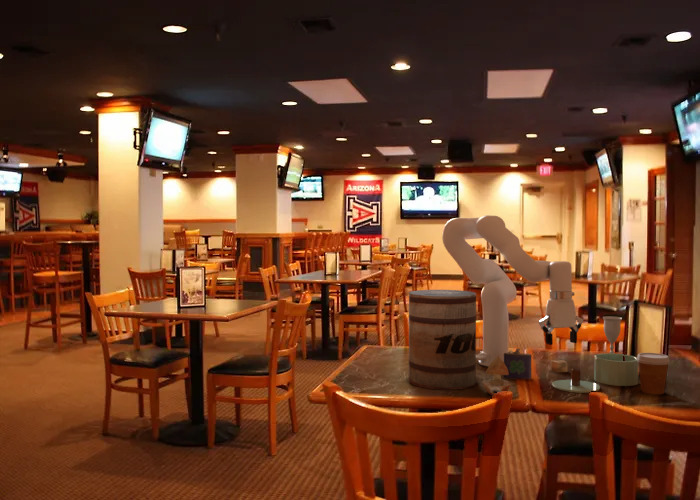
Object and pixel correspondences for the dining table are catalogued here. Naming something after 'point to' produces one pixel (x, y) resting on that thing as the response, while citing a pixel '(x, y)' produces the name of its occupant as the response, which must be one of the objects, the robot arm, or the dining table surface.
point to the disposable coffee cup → (652, 372)
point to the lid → (575, 384)
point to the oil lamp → (496, 377)
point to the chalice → (612, 329)
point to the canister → (616, 369)
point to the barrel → (442, 339)
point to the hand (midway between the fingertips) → (561, 343)
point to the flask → (518, 365)
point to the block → (559, 366)
